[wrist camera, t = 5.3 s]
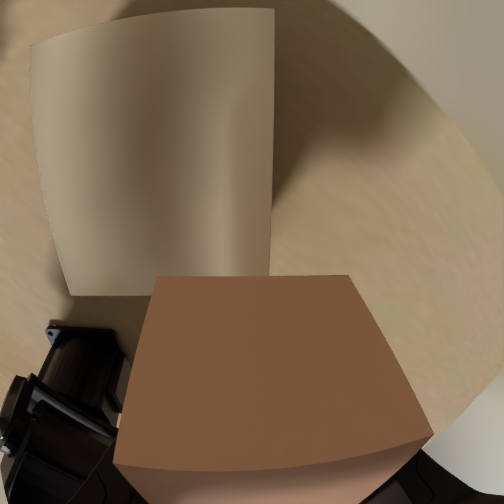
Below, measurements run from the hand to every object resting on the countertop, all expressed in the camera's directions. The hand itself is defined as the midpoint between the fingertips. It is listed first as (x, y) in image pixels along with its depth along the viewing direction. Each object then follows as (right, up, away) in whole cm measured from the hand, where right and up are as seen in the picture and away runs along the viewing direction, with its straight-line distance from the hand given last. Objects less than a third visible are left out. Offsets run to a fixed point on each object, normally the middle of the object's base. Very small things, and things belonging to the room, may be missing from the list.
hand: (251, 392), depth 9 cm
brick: (0, 0, +1) cm, 1 cm away
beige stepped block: (-4, +10, +7) cm, 13 cm away
